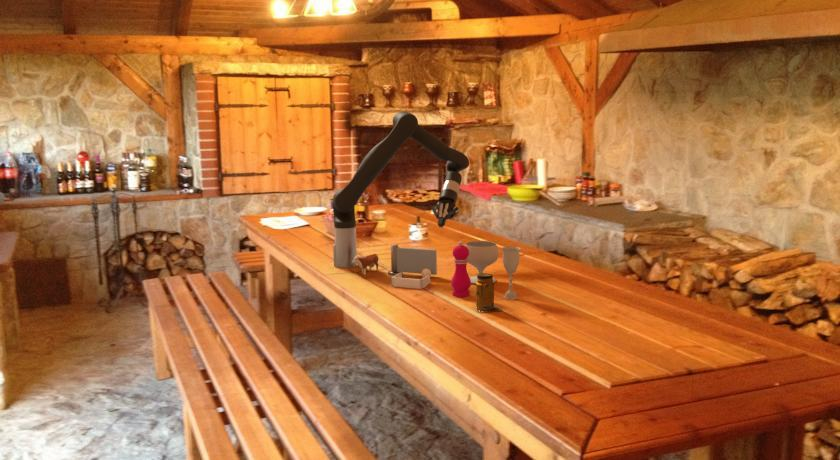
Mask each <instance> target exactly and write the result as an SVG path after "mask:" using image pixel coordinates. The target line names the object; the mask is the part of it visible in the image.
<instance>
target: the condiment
mask: <svg viewBox="0 0 840 460" xmlns="http://www.w3.org/2000/svg"><path fill="white" fill-rule="evenodd" d="M476 276H477V283H476V284H475V287H476V288H475V306H476V307H477V308H476V309H477V310H480V311H481V312H480V311H479V312H478V313H488V312H489V313H490V312H499V311H503V309H502V308H500V307H499V306H498V305H497V304H495V282H493V278H494V276H493V274H492V273H486V272H483V273H482V274H478V273H477V275H476ZM476 309H475V310H476ZM477 310H476V311H477Z"/></svg>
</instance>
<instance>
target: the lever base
mask: <svg viewBox="0 0 840 460" xmlns="http://www.w3.org/2000/svg"><path fill="white" fill-rule="evenodd" d="M398 273H400V272H392V271H391V270H389V271H387V275H389V276H392V277H393V276H395V275H396V274H398Z"/></svg>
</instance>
